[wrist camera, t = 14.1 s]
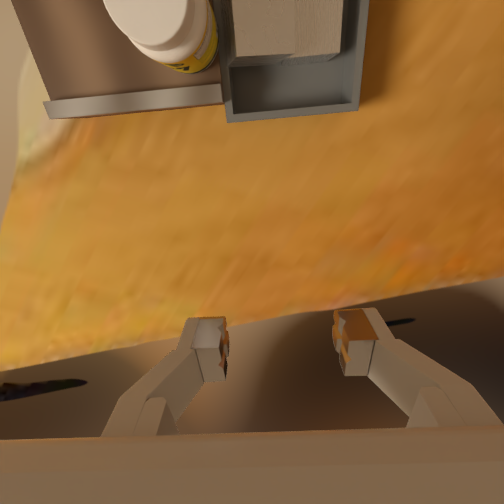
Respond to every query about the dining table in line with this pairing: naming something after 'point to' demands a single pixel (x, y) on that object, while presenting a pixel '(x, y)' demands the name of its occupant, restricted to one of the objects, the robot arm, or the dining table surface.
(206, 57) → the supplement bottle
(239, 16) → the grey small cube
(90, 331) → the dining table surface
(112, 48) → the channel block
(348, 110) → the bin
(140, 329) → the dining table surface
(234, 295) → the dining table surface
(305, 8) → the beige cube
